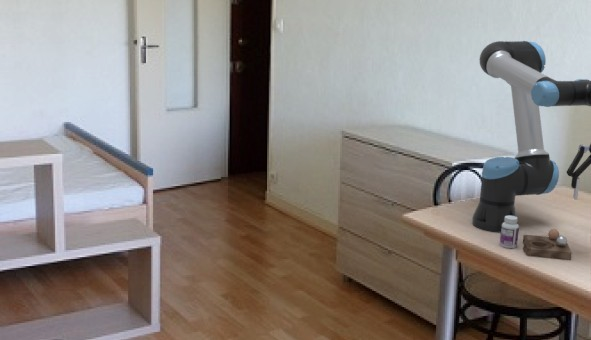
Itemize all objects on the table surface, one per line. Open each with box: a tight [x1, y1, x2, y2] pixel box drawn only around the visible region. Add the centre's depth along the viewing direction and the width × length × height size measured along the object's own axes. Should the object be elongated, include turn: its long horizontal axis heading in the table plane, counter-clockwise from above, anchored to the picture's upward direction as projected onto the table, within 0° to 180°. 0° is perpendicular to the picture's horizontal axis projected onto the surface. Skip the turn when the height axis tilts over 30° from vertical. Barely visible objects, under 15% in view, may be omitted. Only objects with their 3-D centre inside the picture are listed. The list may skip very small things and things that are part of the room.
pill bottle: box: [499, 216, 520, 249], centre depth 241 cm, size 5×5×10 cm
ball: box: [556, 235, 568, 246], centre depth 236 cm, size 3×3×3 cm
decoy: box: [547, 228, 560, 240], centre depth 242 cm, size 3×3×3 cm
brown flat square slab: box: [522, 234, 573, 261], centre depth 239 cm, size 14×13×2 cm
